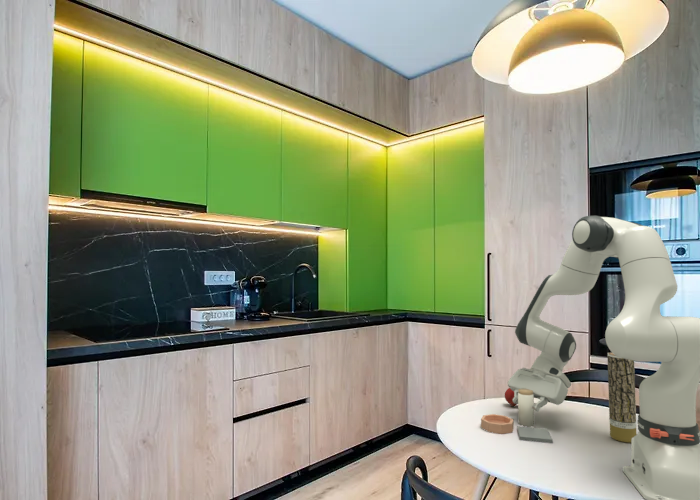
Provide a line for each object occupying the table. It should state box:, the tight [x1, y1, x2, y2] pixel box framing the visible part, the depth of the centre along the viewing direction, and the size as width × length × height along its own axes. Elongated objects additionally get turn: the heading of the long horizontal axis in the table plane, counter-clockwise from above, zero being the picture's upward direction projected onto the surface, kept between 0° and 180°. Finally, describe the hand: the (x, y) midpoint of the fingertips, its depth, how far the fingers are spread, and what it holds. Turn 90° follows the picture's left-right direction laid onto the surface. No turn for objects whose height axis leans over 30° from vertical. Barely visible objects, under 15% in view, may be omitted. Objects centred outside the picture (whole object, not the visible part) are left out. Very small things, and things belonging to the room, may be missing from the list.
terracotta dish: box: [480, 413, 515, 435], centre depth 139 cm, size 9×9×3 cm
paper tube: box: [606, 352, 638, 444], centre depth 131 cm, size 7×7×25 cm
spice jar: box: [517, 388, 535, 427], centre depth 143 cm, size 5×5×11 cm
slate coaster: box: [516, 425, 554, 444], centre depth 133 cm, size 9×9×1 cm
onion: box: [504, 387, 518, 407], centre depth 162 cm, size 6×6×8 cm
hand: (524, 406), depth 143 cm, fingers open, 7 cm apart
